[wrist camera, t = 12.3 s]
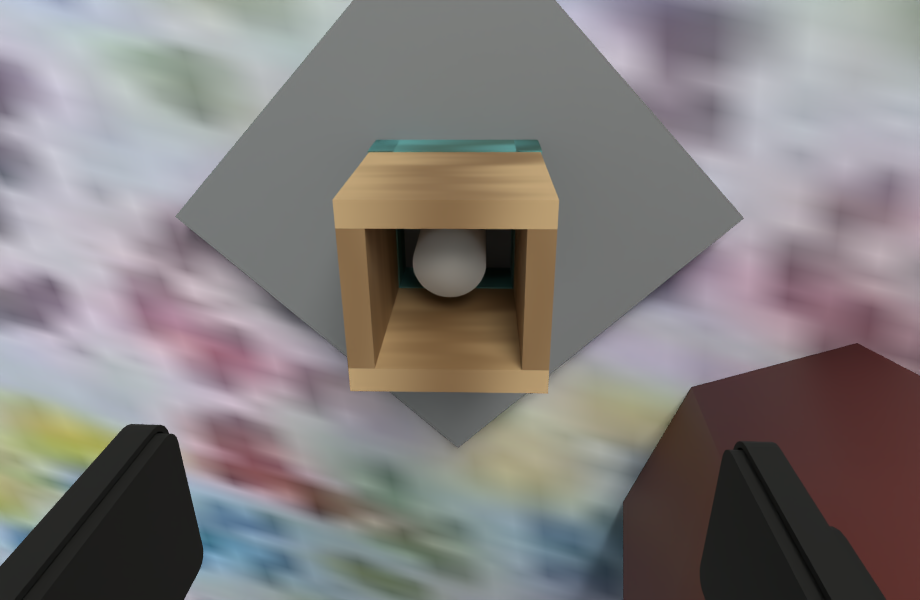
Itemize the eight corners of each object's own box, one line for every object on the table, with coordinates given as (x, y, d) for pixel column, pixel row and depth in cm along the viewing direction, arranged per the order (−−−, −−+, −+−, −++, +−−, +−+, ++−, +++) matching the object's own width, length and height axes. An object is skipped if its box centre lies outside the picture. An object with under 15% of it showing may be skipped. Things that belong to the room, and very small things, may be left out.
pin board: (730, 207, 26) (801, 265, 20) (458, 428, 32) (453, 526, 26) (453, -112, 22) (442, -154, 16) (190, 205, 27) (109, 262, 21)
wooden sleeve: (537, 139, 24) (561, 198, 17) (531, 287, 27) (549, 394, 19) (376, 139, 24) (330, 198, 17) (385, 287, 27) (349, 392, 20)
